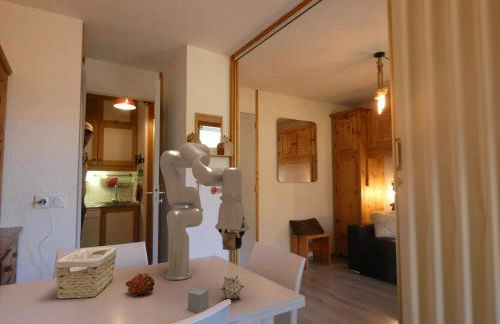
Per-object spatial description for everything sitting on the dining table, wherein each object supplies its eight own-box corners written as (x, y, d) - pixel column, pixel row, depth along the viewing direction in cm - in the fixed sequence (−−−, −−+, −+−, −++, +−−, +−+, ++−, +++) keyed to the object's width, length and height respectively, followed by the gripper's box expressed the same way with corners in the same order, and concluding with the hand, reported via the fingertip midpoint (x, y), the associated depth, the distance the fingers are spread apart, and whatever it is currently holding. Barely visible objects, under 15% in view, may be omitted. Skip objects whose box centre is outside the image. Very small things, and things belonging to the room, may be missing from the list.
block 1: (187, 310, 100) (188, 292, 101) (196, 305, 105) (196, 287, 105) (199, 313, 98) (199, 294, 98) (208, 307, 102) (208, 290, 103)
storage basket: (79, 280, 132) (80, 247, 133) (117, 278, 134) (118, 246, 135) (51, 301, 108) (53, 261, 109) (98, 298, 111) (99, 259, 112)
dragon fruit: (155, 299, 113) (127, 302, 115) (161, 280, 120) (135, 283, 122) (146, 286, 109) (117, 289, 111) (154, 267, 116) (126, 270, 118)
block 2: (222, 249, 110) (222, 233, 111) (229, 246, 115) (229, 231, 115) (234, 250, 108) (234, 234, 109) (240, 248, 113) (240, 232, 113)
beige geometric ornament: (235, 310, 108) (239, 294, 103) (214, 300, 110) (218, 284, 105) (244, 291, 116) (248, 275, 111) (224, 282, 118) (228, 266, 112)
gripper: (208, 199, 113) (207, 247, 112) (247, 200, 106) (247, 251, 104) (218, 198, 120) (218, 243, 119) (255, 199, 112) (256, 247, 111)
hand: (231, 246), depth 112 cm, fingers closed on block 2, 5 cm apart
